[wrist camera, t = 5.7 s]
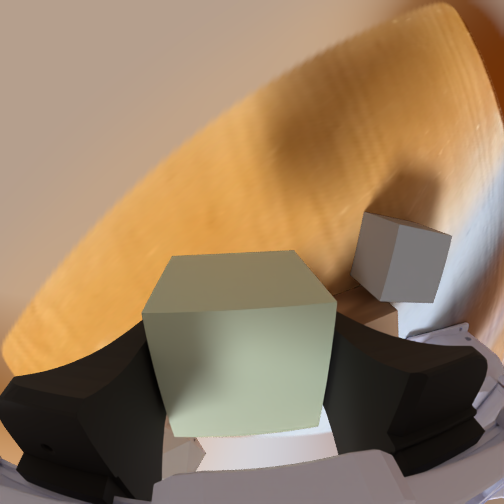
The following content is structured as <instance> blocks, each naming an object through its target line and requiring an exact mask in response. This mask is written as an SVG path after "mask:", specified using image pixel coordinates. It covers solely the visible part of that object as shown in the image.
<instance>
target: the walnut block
mask: <svg viewBox="0 0 504 504" xmlns="http://www.w3.org/2000/svg"><path fill="white" fill-rule="evenodd" d="M333 297H334V299H335V300H336V301H337V309H336V311H337V312H339V313H341V314H343V315H345V316H347V317H349V318H351V319H353V320H355V321H357V322H359V323H361V324H363V325H365V326H368V327H370V328H372V329H375V330H377V331H380V332H383V333H386V334H389V335H392V336H395V337H398V310H397V309H396V308H394V307H393V306H392V305H391V304H390V303H389V302H385V301H379V300H378V299H377V298H376V297H375V296H373V295H372V294H371V293H370V292H369V291H368V290H367V289H366V288H364V287H363V286H359V287H356V288H354V289H351V290H348V291H346V292H343V293H340V294H337V295H334V296H333Z"/></svg>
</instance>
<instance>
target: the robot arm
mask: <svg viewBox="0 0 504 504" xmlns="http://www.w3.org/2000/svg"><path fill="white" fill-rule="evenodd" d="M468 328H469V324H468V323H467V322H465V323H462V324H458V325H455V326H451V327H448V328H444V329H440V330H437V331H433V332H429V333H425V334H421V335H417V336H413V337H409V338H407V339H402V338H399V337H395V336H392V335H389V334H386V333H383V332H380V331H377V330H375V329H372V328H370V327H368V326H365V325H363V324H361V323H359V322H357V321H355V320H353V319H351V318H349V317H347V316H345V315H343V314H341V313H339V312H337V311H336V318H335V327H334V335H333V342H332V350H331V357H330V364H329V370H328V376H327V382H326V388H325V394H324V400H323V406H324V408H325V411H326V414H327V416H328V420H329V423H330V426H331V429H332V433H333V436H334V440H335V444H336V447H337V451H338V455H337V456H333V457H329V458H324V459H319V460H314V461H309V462H302V463H297V464H290V465H283V466H275V467H266V468H257V469H244V470H222V471H199V472H189V473H177V474H174V475H172V476H170V477H168V478H166V479H164V480H162V457H163V440H164V427H165V421H166V415H167V413H166V409H165V406H164V403H163V399H162V396H161V392H160V389H159V385H158V382H157V378H156V374H155V370H154V367H153V363H152V359H151V354H150V350H149V346H148V342H147V337H146V333H145V328H144V323H143V320H142V321H140V322H139V323H138V324H137V325H135V326H134V327H133V328H131V329H130V330H129V331H127V332H126V333H125V334H123V335H122V336H120V337H119V338H117V339H116V340H115V341H113V342H112V343H110V344H109V345H107V346H105V347H104V348H102V349H100V350H98V351H96V352H94V353H93V354H91V355H89V356H86V357H84V358H82V359H79V360H77V361H75V362H72V363H70V364H67V365H64V366H61V367H58V368H55V369H51V370H48V371H44V372H39V373H34V374H28V375H23V376H16V377H14V378H13V379H12V380H11V381H10V383H9V384H8V386H7V387H6V388H5V390H4V391H3V392H2V394H1V395H0V420H1V422H2V423H3V425H4V427H5V428H6V430H7V431H8V432H9V434H10V435H11V436H12V438H13V439H14V440H15V442H16V443H17V444H18V446H19V447H20V448H21V449H22V451H23V452H24V453H23V455H22V458H21V460H20V462H19V464H18V466H16V465H14V464H12V463H10V462H8V461H6V460H3V459H2V458H1V456H0V504H484V503H485V502H487V501H488V500H491V499H496V498H504V368H503V365H502V362H501V361H500V359H499V357H498V356H497V355H496V354H495V353H494V352H492V351H491V350H490V349H489V348H487V347H486V346H485V345H484V344H483V343H481V342H480V341H479V340H478V339H476V338H475V337H474V336H473V335H471V334H470V333H469V332H468Z"/></svg>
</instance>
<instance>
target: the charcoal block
mask: <svg viewBox="0 0 504 504" xmlns="http://www.w3.org/2000/svg"><path fill="white" fill-rule="evenodd" d="M451 239H452V236H451V235H448V234H445V233H443V232H440V231H437V230H435V229H432V228H429V227H426V226H423V225H420V224H418V223H415V222H411V221H406V220H402V219H397V218H392V217H388V216H383V215H378V214H373V213H368V212H364V214H363V219H362V224H361V229H360V234H359V238H358V243H357V248H356V252H355V256H354V261H353V265H352V269H351V273H350V275H351V276H352V277H353V278H354V279H355V280H357V281H358V282H359V283H360V284H361V285H362V286H363V287H364V288H366V289H367V290H368V291H369V292H370V293H371V294H372V295H373V296H375V297H376V298H377V299H378V300H379V301H385V302H412V303H433V302H434V299H435V296H436V293H437V290H438V286H439V283H440V280H441V277H442V273H443V270H444V266H445V262H446V259H447V255H448V251H449V247H450V243H451Z"/></svg>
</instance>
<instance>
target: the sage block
mask: <svg viewBox="0 0 504 504" xmlns="http://www.w3.org/2000/svg"><path fill="white" fill-rule="evenodd" d="M336 309H337V301H336V300H335V299H334V297H333V296H332V295H331V294H330V293H329V291H328V290H327V289H326V288H325V287H324V285H323V284H322V283H321V282H320V281H319V279H318V278H317V277H316V276H315V275H314V273H313V272H312V271H311V270H310V269H309V268H308V266H307V265H306V264H305V263H304V262H303V260H302V259H301V258H300V257H299V256H298V255H297V253H296V252H295V251H294V250H289V251H268V252H247V253H227V254H206V255H185V256H172V257H171V259H170V261H169V263H168V264H167V266H166V268H165V270H164V272H163V274H162V275H161V277H160V279H159V281H158V283H157V285H156V286H155V288H154V290H153V292H152V294H151V296H150V298H149V300H148V301H147V303H146V305H145V307H144V309H143V311H142V318H143V323H144V328H145V333H146V337H147V342H148V346H149V350H150V354H151V359H152V363H153V367H154V370H155V374H156V378H157V382H158V385H159V389H160V392H161V396H162V399H163V403H164V406H165V409H166V413H167V416H168V419H169V422H170V425H171V428H172V431H173V434H174V437H229V436H246V435H258V434H268V433H277V432H285V431H293V430H299V429H306V428H312V427H317V426H318V425H319V420H320V415H321V410H322V405H323V400H324V394H325V388H326V382H327V376H328V370H329V364H330V357H331V350H332V342H333V335H334V327H335V318H336Z"/></svg>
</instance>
